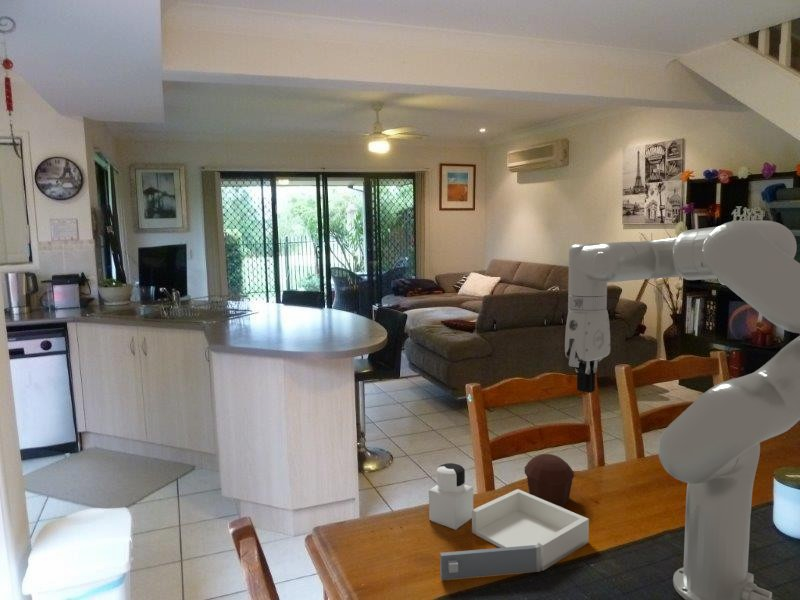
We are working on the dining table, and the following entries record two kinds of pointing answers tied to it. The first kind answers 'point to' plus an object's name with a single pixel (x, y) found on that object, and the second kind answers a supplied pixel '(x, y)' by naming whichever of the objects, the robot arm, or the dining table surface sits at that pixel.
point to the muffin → (549, 478)
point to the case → (531, 525)
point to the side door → (490, 562)
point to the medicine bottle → (450, 497)
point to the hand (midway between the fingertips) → (585, 390)
